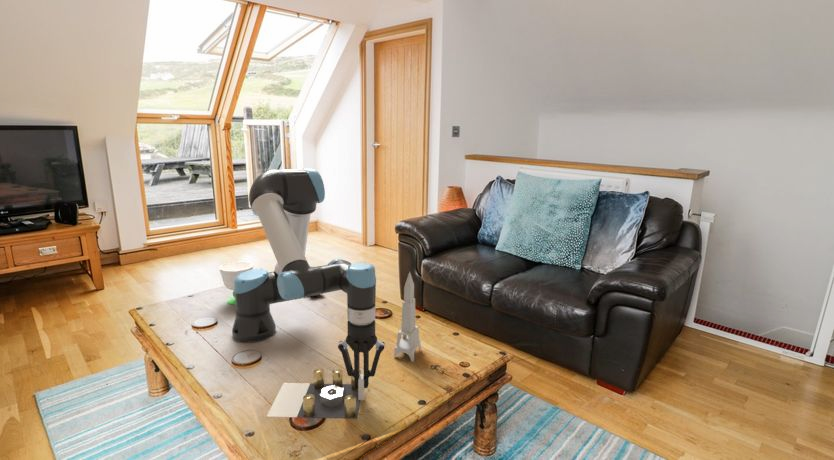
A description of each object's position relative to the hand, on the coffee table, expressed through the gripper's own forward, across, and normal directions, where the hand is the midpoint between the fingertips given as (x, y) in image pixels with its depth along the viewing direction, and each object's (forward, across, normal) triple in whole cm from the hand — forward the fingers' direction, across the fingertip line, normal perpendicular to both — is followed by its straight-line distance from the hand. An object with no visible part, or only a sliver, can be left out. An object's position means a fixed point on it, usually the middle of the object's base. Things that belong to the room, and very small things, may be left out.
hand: (361, 397), depth 128 cm
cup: (+2, -61, +71) cm, 94 cm away
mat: (+2, -12, 0) cm, 12 cm away
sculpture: (+2, +13, +28) cm, 31 cm away
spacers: (+1, -8, 0) cm, 8 cm away
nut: (+1, -8, 0) cm, 8 cm away
